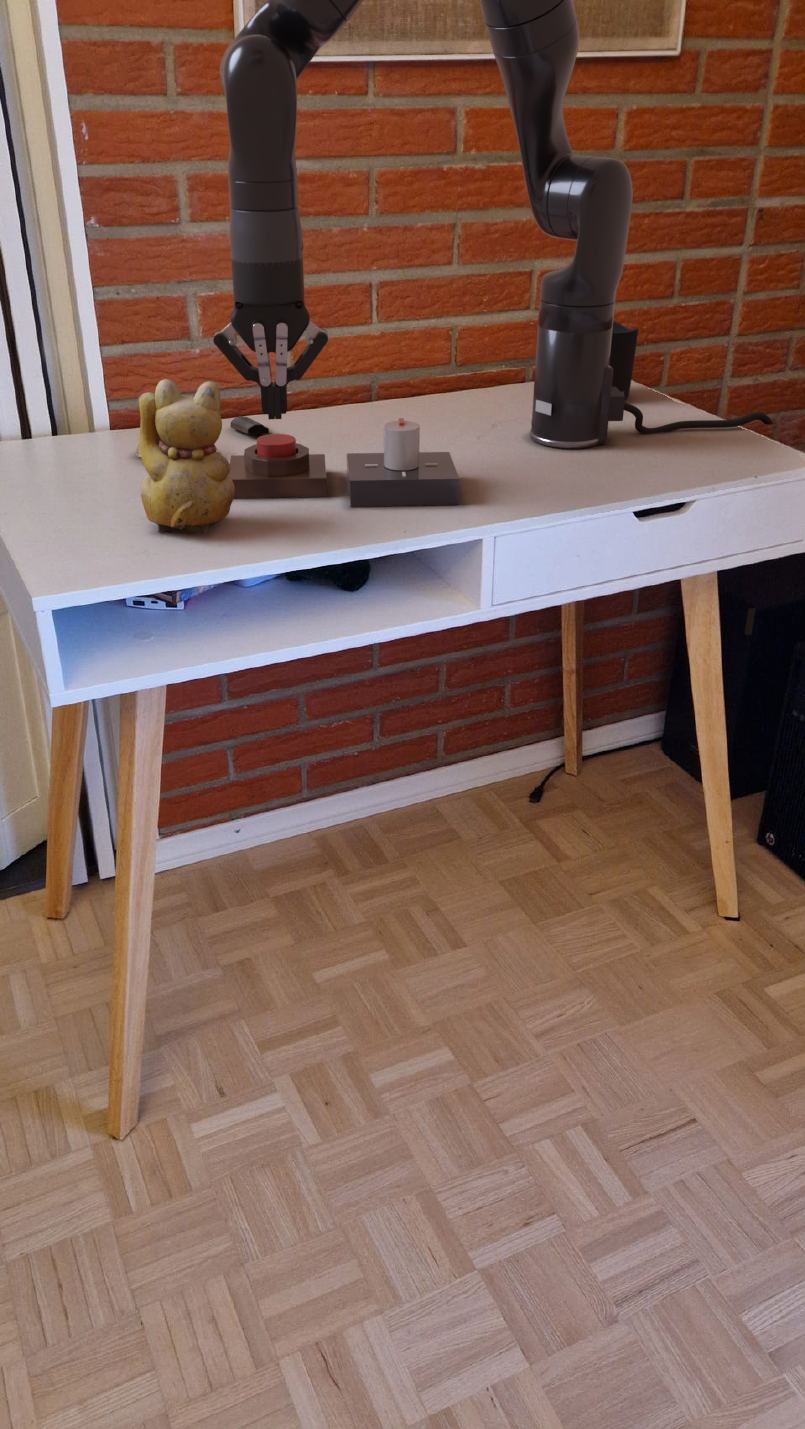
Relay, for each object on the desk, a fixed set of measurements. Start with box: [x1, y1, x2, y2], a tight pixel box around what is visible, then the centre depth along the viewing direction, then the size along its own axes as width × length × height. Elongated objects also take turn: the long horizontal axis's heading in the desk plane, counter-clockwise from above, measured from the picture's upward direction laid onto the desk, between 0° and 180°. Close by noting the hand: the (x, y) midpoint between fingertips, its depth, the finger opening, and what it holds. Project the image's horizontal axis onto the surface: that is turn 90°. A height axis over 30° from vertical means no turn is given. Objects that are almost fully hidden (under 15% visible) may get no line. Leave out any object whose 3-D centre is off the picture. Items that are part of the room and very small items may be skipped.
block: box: [230, 415, 270, 435], centre depth 154 cm, size 4×6×2 cm, turn 32°
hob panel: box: [346, 451, 461, 508], centre depth 134 cm, size 12×10×3 cm
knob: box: [383, 417, 421, 471], centre depth 132 cm, size 4×4×5 cm
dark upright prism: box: [609, 320, 640, 401], centre depth 169 cm, size 9×9×10 cm
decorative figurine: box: [138, 378, 235, 535], centre depth 120 cm, size 10×8×15 cm
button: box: [256, 433, 297, 458], centre depth 134 cm, size 4×4×2 cm
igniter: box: [228, 442, 328, 499], centre depth 135 cm, size 11×9×4 cm
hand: (275, 417), depth 132 cm, fingers closed
